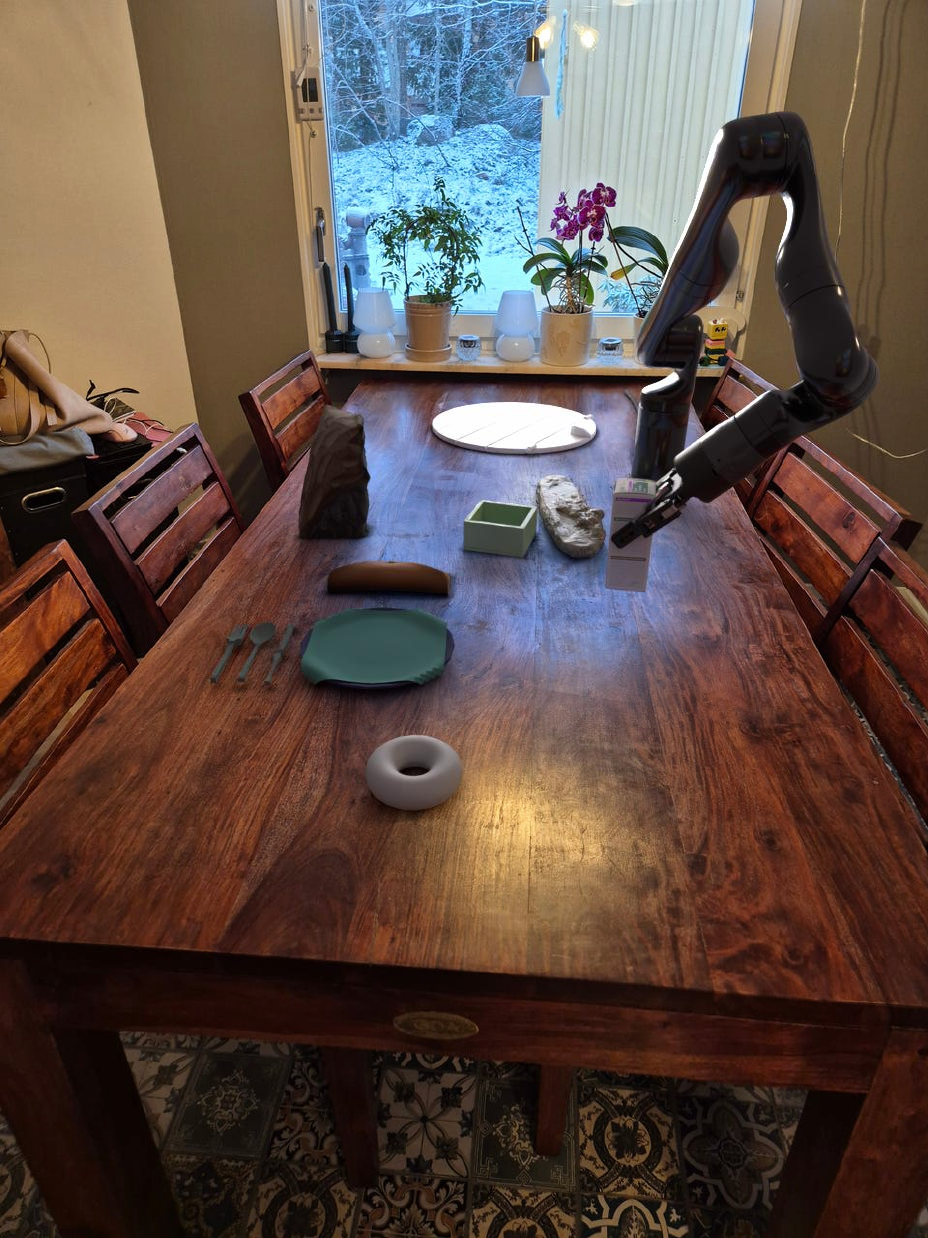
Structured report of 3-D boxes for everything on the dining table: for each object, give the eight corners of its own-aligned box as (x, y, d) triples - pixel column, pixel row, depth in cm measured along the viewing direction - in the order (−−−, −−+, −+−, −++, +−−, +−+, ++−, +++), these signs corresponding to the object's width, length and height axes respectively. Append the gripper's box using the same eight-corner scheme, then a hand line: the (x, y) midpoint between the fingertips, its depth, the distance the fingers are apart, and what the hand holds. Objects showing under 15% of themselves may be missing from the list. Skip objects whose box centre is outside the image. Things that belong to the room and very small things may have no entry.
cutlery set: (452, 702, 97) (452, 685, 96) (201, 697, 97) (198, 681, 96) (456, 619, 114) (456, 605, 113) (243, 616, 115) (241, 602, 114)
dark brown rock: (323, 510, 149) (315, 401, 140) (389, 517, 147) (385, 406, 137) (295, 537, 139) (283, 421, 129) (365, 545, 136) (358, 427, 126)
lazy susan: (624, 422, 201) (626, 409, 200) (552, 465, 173) (553, 450, 171) (486, 399, 220) (486, 386, 218) (400, 434, 191) (399, 419, 189)
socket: (479, 527, 144) (480, 499, 141) (536, 534, 141) (537, 506, 138) (463, 549, 135) (463, 521, 133) (522, 557, 133) (523, 528, 130)
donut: (458, 752, 89) (366, 755, 88) (459, 726, 87) (365, 729, 87) (466, 816, 80) (364, 820, 80) (467, 789, 79) (363, 793, 78)
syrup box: (646, 593, 113) (659, 494, 106) (603, 589, 114) (613, 491, 107) (646, 575, 118) (658, 479, 111) (605, 571, 119) (614, 476, 112)
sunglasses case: (451, 571, 127) (450, 546, 121) (449, 610, 123) (448, 586, 117) (336, 568, 127) (329, 543, 122) (331, 607, 124) (324, 583, 118)
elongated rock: (577, 493, 162) (527, 496, 162) (577, 467, 160) (526, 470, 159) (617, 559, 131) (555, 563, 130) (618, 528, 128) (555, 532, 128)
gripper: (704, 421, 109) (608, 495, 118) (699, 454, 97) (592, 533, 106) (739, 463, 110) (641, 533, 119) (738, 501, 98) (628, 575, 107)
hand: (618, 533), depth 113 cm, fingers closed on syrup box, 6 cm apart
